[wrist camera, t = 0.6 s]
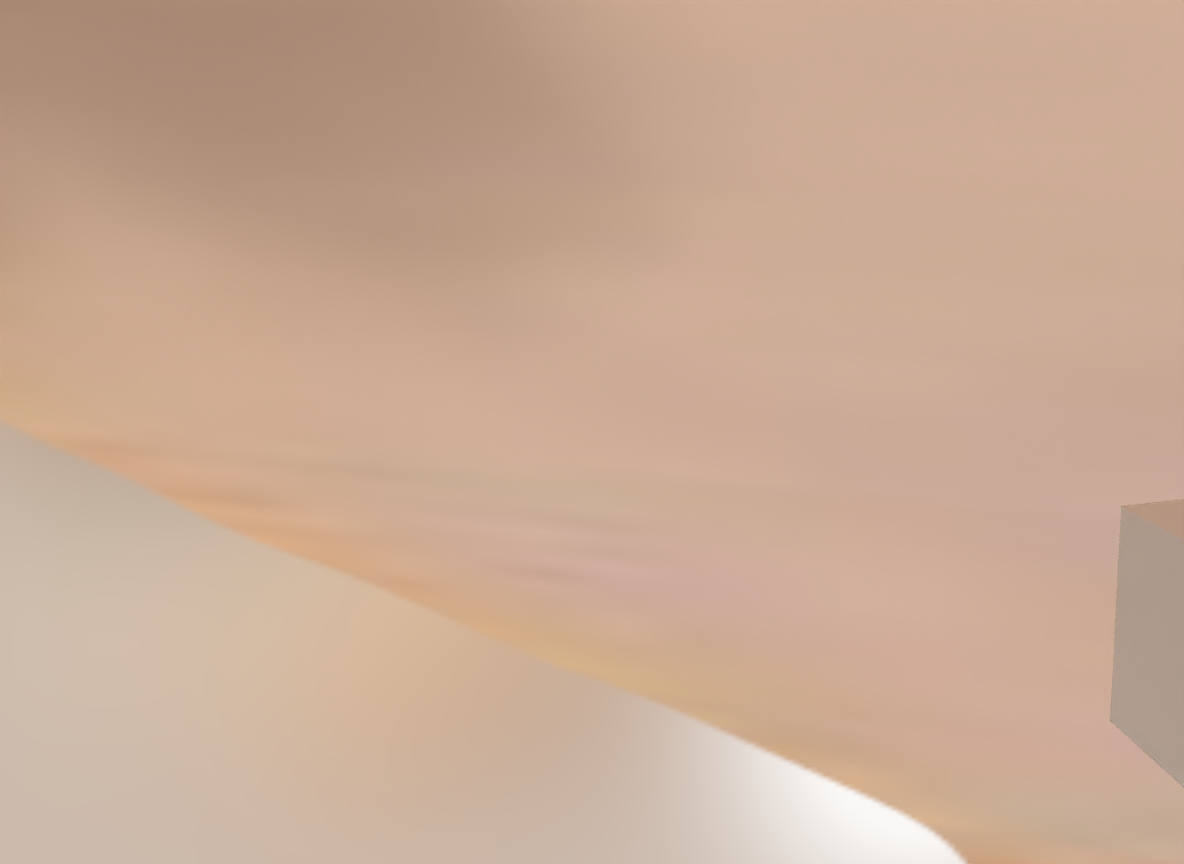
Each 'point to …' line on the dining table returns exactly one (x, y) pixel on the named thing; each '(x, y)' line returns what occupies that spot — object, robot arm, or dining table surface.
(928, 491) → the dining table surface
